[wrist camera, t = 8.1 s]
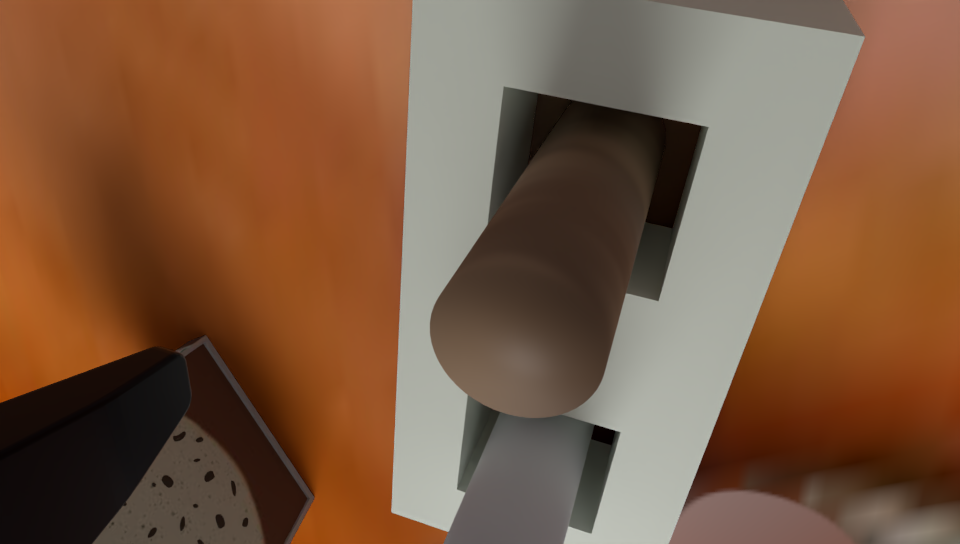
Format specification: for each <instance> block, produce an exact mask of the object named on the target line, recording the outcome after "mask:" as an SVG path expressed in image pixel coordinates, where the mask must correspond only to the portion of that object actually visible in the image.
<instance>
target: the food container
mask: <svg viewBox="0 0 960 544" xmlns="http://www.w3.org/2000/svg"><path fill="white" fill-rule="evenodd" d="M176 352H179V353H181V354H183V356H184V357H185V359H186V363H187V368H188V374H189V380H190V386H191V392H192V397H191V402H190V406H189V408H188V410H187V412H186V413H185V415H184V416H183V418H182V419H181V421H180V422H179V424H178V425H177V427H176V429H175V430H174V432H173V433H172V435H171V436H170V438H169V439H168V441H167V442H166V444H165V445H164V447H163V448H162V450H161V451H160V453H159V454H158V456H157V457H156V459H155V460H154V462H153V463H152V465H151V466H150V468H149V469H148V471H147V473H146V474H145V476H144V477H143V479H142V480H141V482H140V483H139V485H138V486H137V487H136V489H135V490H134V492H133V493H132V494H131V496H130V497H129V499H128V500H127V501H126V502H125V504H124V505H123V506H122V508H121V509H120V510H119V512H118V513H117V514H116V515H115V517H114V518H113V519H112V520H111V521H110V523H109V524H108V525H107V526H106V528H105V529H104V530H103V531H102V533H101V534H100V535H99V536H98V537H97V539H96V540H95V541H94V542H93V544H290V543H291V541H292V539H293V537H294V535H295V534H296V532H297V530H298V528H299V526H300V524H301V522H302V521H303V519H304V517H305V515H306V513H307V511H308V509H309V508H310V506H311V504H312V502H313V500H314V496H313V495H312V493H311V492H310V490H309V489H308V487H307V486H306V484H305V483H304V481H303V480H302V478H301V477H300V475H299V474H298V472H297V471H296V469H295V468H294V466H293V465H292V463H291V462H290V460H289V459H288V457H287V456H286V454H285V453H284V451H283V450H282V448H281V447H280V445H279V444H278V442H277V441H276V439H275V438H274V436H273V435H272V433H271V432H270V430H269V429H268V427H267V426H266V424H265V423H264V421H263V420H262V418H261V417H260V415H259V414H258V412H257V411H256V409H255V408H254V406H253V405H252V403H251V402H250V400H249V399H248V397H247V396H246V394H245V393H244V391H243V390H242V388H241V387H240V385H239V384H238V382H237V381H236V379H235V378H234V376H233V375H232V373H231V372H230V370H229V369H228V367H227V366H226V364H225V363H224V361H223V360H222V358H221V357H220V355H219V354H218V352H217V351H216V349H215V348H214V346H213V345H212V343H211V342H210V340H209V339H208V337H207V336H206V335H204V336H202V337H199V338H196V339H194V340H191V341H188V342H187V343H186V344H184V345H183V346H181V347H180V348H179V349H177V350H176Z"/></svg>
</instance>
